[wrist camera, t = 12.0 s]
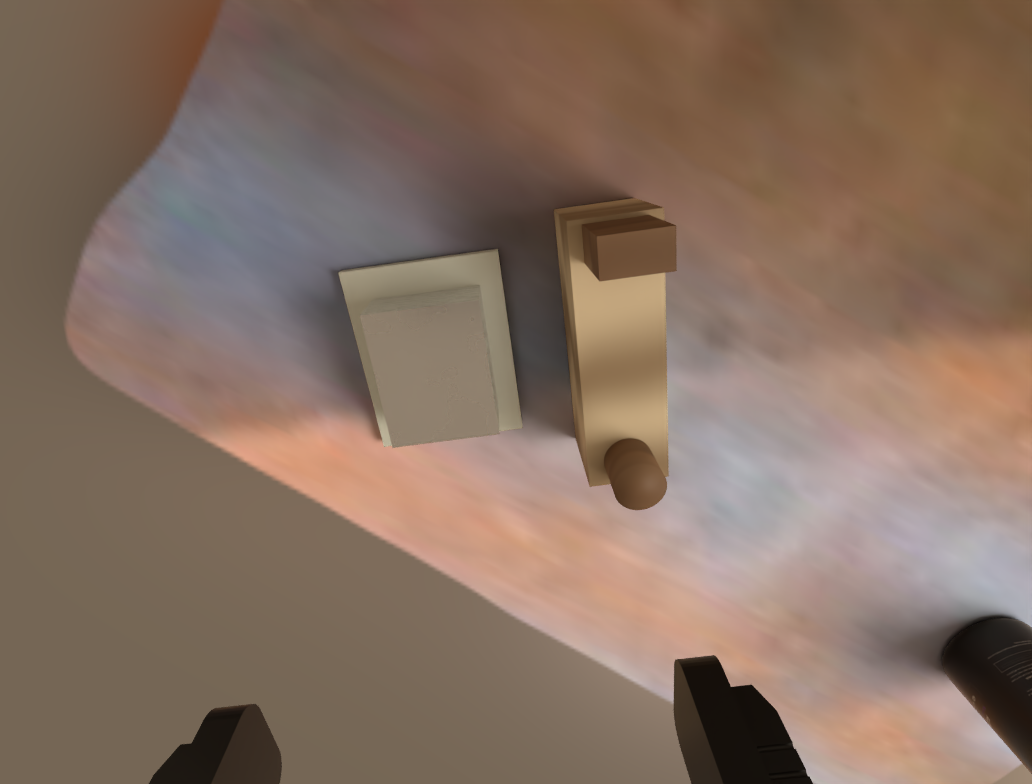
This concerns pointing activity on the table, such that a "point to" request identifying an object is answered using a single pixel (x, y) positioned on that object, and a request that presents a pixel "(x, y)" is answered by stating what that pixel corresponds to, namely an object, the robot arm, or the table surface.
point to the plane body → (618, 341)
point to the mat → (434, 277)
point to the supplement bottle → (997, 678)
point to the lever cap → (432, 365)
